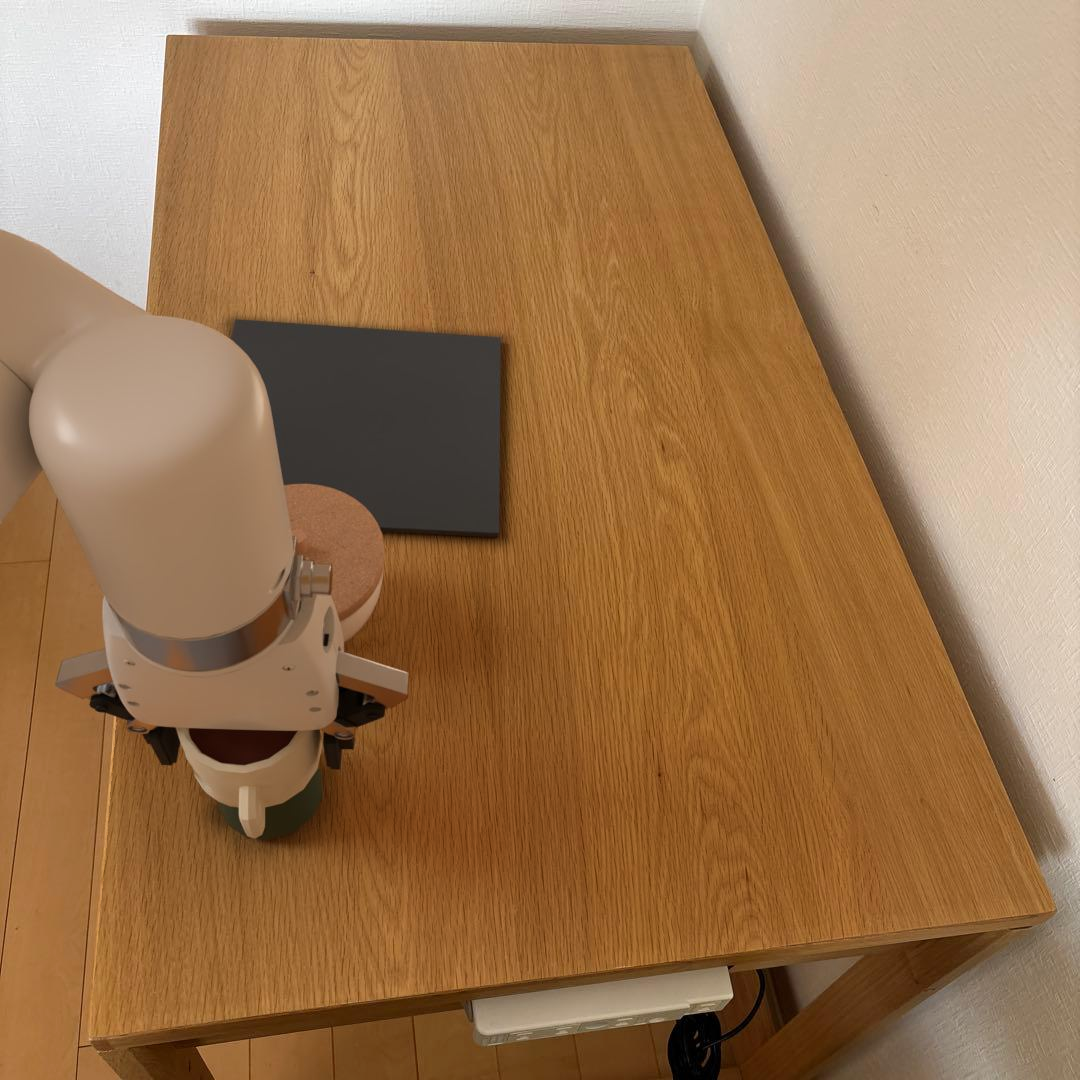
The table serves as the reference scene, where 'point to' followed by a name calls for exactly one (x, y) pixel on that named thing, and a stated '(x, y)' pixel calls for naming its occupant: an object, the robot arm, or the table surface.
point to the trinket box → (340, 548)
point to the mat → (387, 419)
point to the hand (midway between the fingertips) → (256, 741)
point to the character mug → (258, 776)
